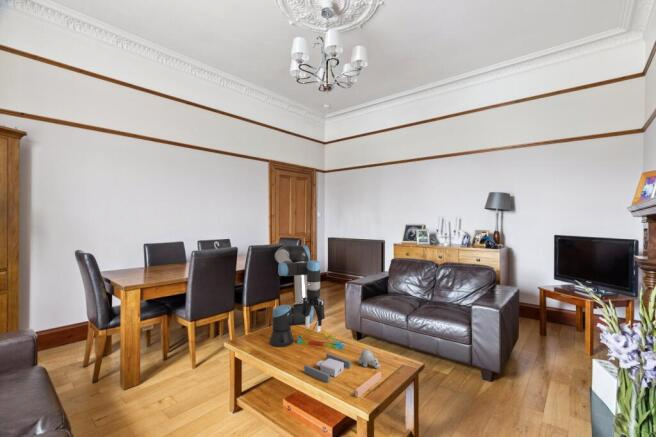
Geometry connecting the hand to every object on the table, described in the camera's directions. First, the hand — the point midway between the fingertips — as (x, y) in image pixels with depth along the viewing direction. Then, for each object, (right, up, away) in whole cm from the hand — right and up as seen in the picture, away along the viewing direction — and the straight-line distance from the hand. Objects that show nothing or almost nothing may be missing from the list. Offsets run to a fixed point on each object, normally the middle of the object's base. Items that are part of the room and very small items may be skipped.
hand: (312, 329), depth 171 cm
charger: (+8, -20, -6) cm, 22 cm away
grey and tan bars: (+15, -19, -13) cm, 28 cm away
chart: (+3, -20, +25) cm, 32 cm away
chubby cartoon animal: (+31, -20, -2) cm, 37 cm away
